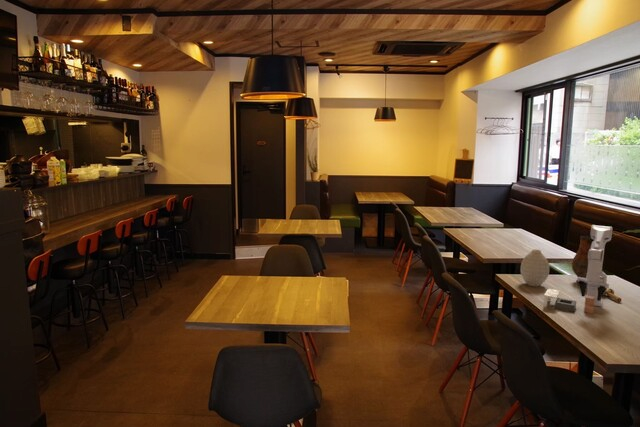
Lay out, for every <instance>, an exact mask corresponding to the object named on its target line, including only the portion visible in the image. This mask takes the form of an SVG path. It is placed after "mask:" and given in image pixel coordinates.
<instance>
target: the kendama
mask: <svg viewBox="0 0 640 427" xmlns="http://www.w3.org/2000/svg"><path fill="white" fill-rule="evenodd" d="M604 295H606V296H607V297H609V298H611V299H612V300H613V301H615V302H617V303H621V302H622V298H621V297H619V296H618V295H616V294H615V290H614V289H613V288H607V289H606V290H605V292H604V293H603V295H602V296H604Z"/></svg>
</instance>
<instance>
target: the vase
mask: <svg viewBox="0 0 640 427" xmlns="http://www.w3.org/2000/svg"><path fill="white" fill-rule="evenodd" d="M520 275H521V277H522V279H523V282H525V283H526V285H527V286H529V287H535V288H536V287H540V286H541V285H543V284H544V283H545V282H546V280H547V279H548V277H549V275H550V264H549V261H548V259H547V258H546V256H545V255H544V254H543V253H542V250H541V249H537V248H536V249H532V250H531V251H530V252H529V253H528V254H526V255H525V256H524V258H523V259H522V261H521V263H520Z"/></svg>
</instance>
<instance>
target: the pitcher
mask: <svg viewBox="0 0 640 427" xmlns="http://www.w3.org/2000/svg"><path fill="white" fill-rule="evenodd" d="M579 238H580V242H579V248H578V249H577V251H576V253H575V255H574V257H573V259H572V263H571V266H572V267H571V268H572V270H573V272H574V274H575V276H576V277H577V278H578V277H582V278H586V276H587V271H588V252H589V249H591V245H592V242H593V241H594V240H593V239H592V238H591V235H589V236H588V235H581V236H579ZM575 282H576V283H577V284H578V283H579V281H577V279H576V280H575Z"/></svg>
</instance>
